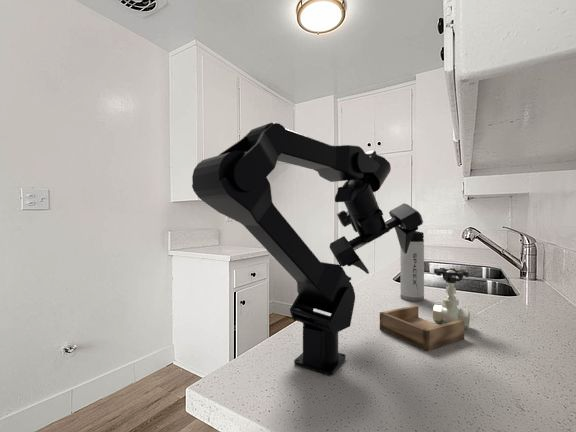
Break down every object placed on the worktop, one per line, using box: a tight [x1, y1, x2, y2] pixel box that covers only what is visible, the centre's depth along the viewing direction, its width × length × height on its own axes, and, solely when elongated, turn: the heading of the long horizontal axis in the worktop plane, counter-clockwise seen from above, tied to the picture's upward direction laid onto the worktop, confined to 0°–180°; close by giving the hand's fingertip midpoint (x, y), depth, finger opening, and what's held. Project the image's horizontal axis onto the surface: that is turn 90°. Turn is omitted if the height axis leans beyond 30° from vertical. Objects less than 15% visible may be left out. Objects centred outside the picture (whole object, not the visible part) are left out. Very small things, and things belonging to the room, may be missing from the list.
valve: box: [432, 267, 471, 329], centre depth 62 cm, size 7×7×12 cm
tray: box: [379, 304, 465, 352], centre depth 57 cm, size 11×11×4 cm
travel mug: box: [399, 230, 425, 302], centre depth 83 cm, size 6×7×20 cm
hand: (386, 262), depth 63 cm, fingers open, 9 cm apart
